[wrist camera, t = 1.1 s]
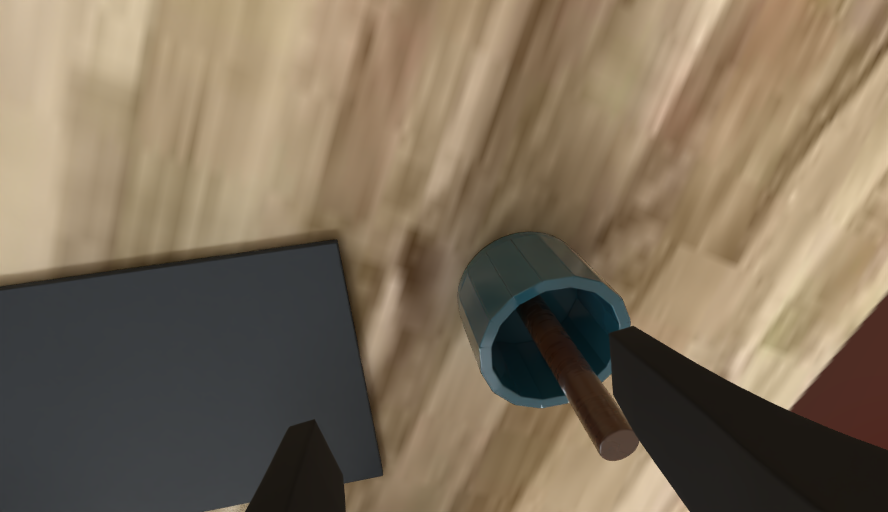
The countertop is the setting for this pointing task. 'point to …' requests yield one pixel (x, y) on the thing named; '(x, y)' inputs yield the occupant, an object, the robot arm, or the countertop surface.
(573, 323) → the espresso cup
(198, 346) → the mat
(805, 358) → the countertop surface
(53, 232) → the countertop surface
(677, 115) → the countertop surface
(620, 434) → the stirring stick
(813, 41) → the countertop surface
